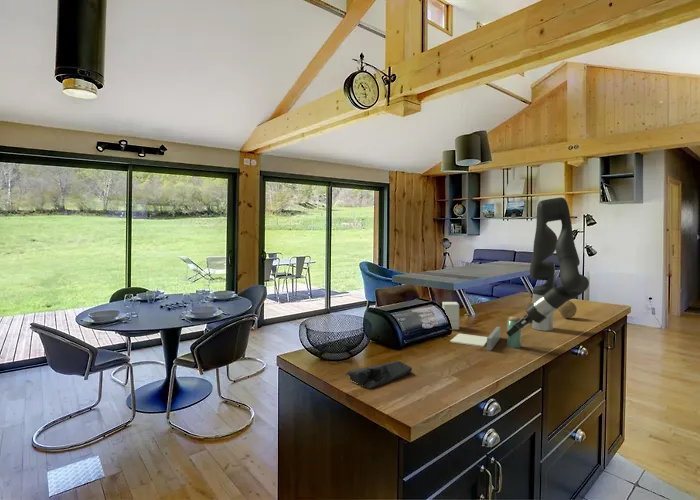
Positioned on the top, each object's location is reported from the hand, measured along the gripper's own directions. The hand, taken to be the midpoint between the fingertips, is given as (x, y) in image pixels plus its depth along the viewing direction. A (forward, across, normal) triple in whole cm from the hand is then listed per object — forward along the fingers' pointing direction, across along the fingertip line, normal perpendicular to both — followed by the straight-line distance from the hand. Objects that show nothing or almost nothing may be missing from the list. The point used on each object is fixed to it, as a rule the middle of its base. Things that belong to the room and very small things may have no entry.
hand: (511, 332), depth 163 cm
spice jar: (+3, 0, +5) cm, 6 cm away
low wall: (+9, +1, -1) cm, 9 cm away
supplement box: (+28, -12, -20) cm, 36 cm away
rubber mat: (+16, +3, -8) cm, 18 cm away
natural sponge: (-1, -71, +9) cm, 72 cm away
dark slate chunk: (+21, +62, -12) cm, 67 cm away
